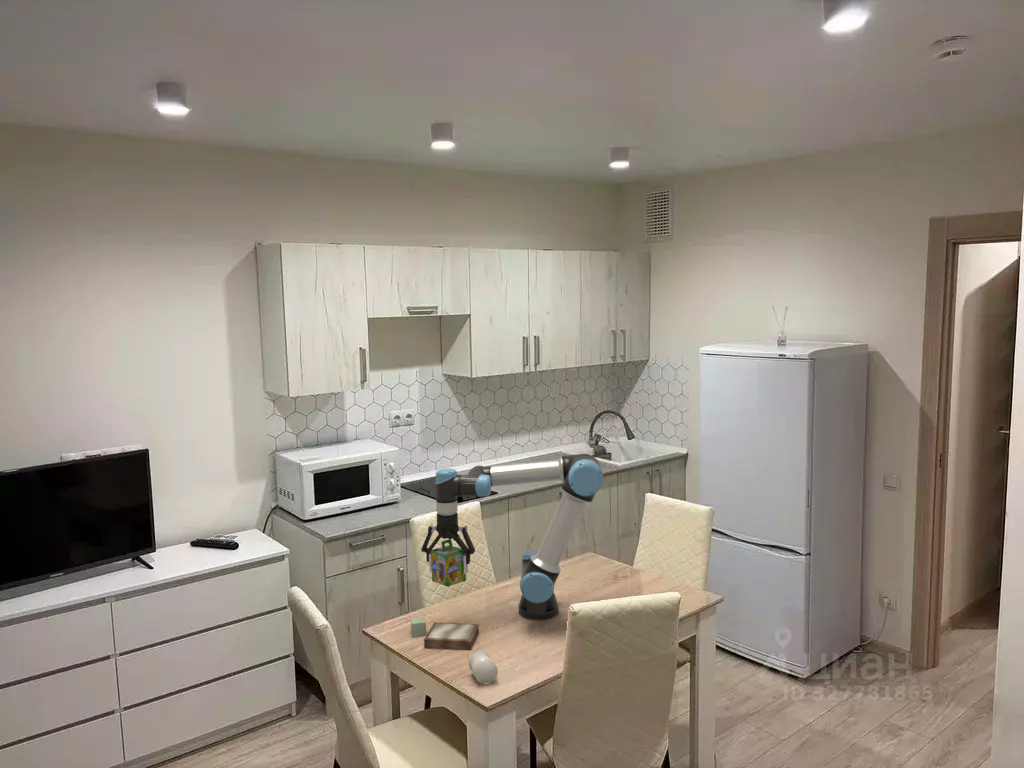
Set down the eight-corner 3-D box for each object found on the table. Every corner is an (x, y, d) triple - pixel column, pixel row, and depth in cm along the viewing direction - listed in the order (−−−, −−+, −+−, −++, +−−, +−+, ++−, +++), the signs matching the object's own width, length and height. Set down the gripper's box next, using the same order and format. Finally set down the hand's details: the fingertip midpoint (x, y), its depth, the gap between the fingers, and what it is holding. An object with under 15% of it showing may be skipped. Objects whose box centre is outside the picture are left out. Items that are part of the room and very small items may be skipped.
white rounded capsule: (491, 650, 237) (498, 661, 229) (489, 671, 237) (496, 683, 230) (469, 651, 235) (476, 662, 227) (468, 673, 235) (474, 685, 228)
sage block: (425, 630, 269) (424, 616, 268) (426, 636, 264) (426, 622, 264) (411, 631, 268) (410, 618, 267) (412, 637, 263) (411, 623, 263)
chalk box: (447, 587, 263) (446, 546, 261) (431, 581, 269) (429, 541, 268) (467, 580, 269) (466, 540, 268) (450, 574, 276) (449, 535, 274)
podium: (478, 632, 266) (478, 623, 265) (470, 650, 252) (470, 640, 252) (434, 630, 268) (434, 621, 268) (424, 647, 254) (424, 638, 254)
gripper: (482, 510, 268) (484, 569, 270) (417, 508, 273) (419, 566, 275) (477, 516, 261) (479, 576, 263) (411, 514, 266) (412, 573, 268)
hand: (448, 571), depth 269 cm, fingers closed on chalk box, 12 cm apart
